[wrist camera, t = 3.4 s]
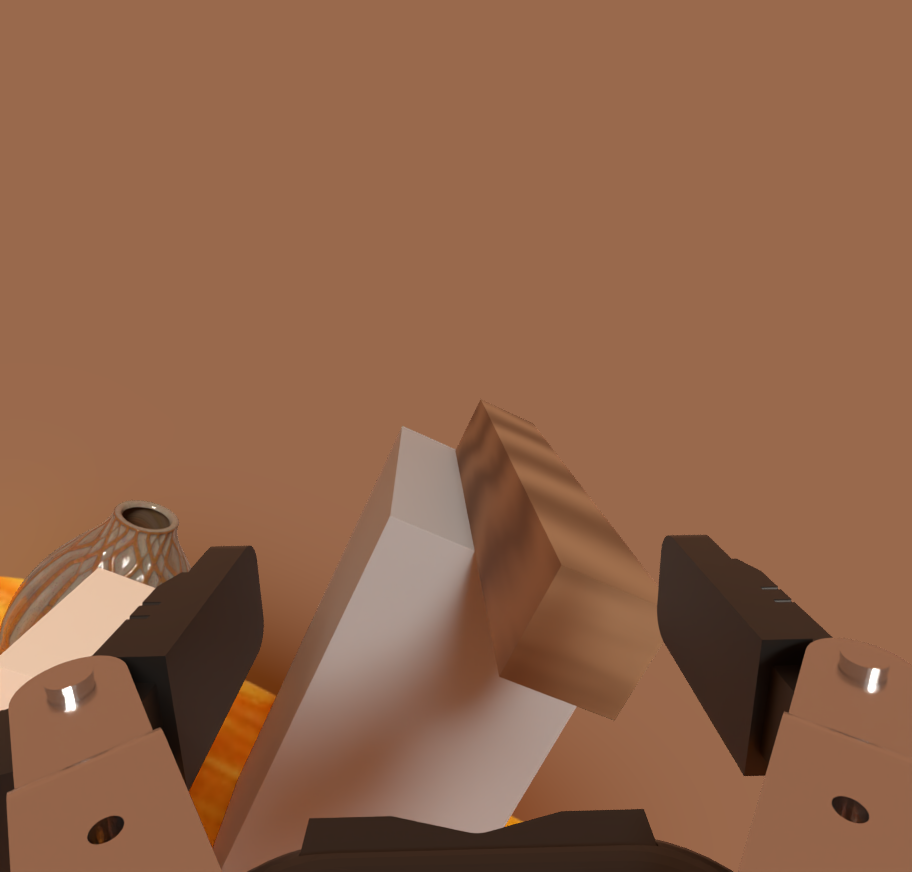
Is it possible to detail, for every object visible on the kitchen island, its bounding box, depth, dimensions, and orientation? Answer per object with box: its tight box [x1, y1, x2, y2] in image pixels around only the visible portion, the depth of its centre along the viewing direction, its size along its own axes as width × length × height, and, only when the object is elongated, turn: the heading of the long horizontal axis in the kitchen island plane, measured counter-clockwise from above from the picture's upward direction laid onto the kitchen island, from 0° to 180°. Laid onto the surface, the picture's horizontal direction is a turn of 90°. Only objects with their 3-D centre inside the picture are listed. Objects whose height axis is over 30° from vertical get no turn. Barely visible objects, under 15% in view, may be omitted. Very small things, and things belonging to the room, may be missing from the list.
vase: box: [0, 500, 191, 655], centre depth 46 cm, size 13×13×18 cm
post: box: [0, 568, 155, 711], centre depth 30 cm, size 8×8×21 cm
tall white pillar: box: [213, 426, 577, 872], centre depth 37 cm, size 16×12×32 cm
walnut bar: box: [455, 400, 664, 720], centre depth 29 cm, size 24×4×4 cm, turn 3°
